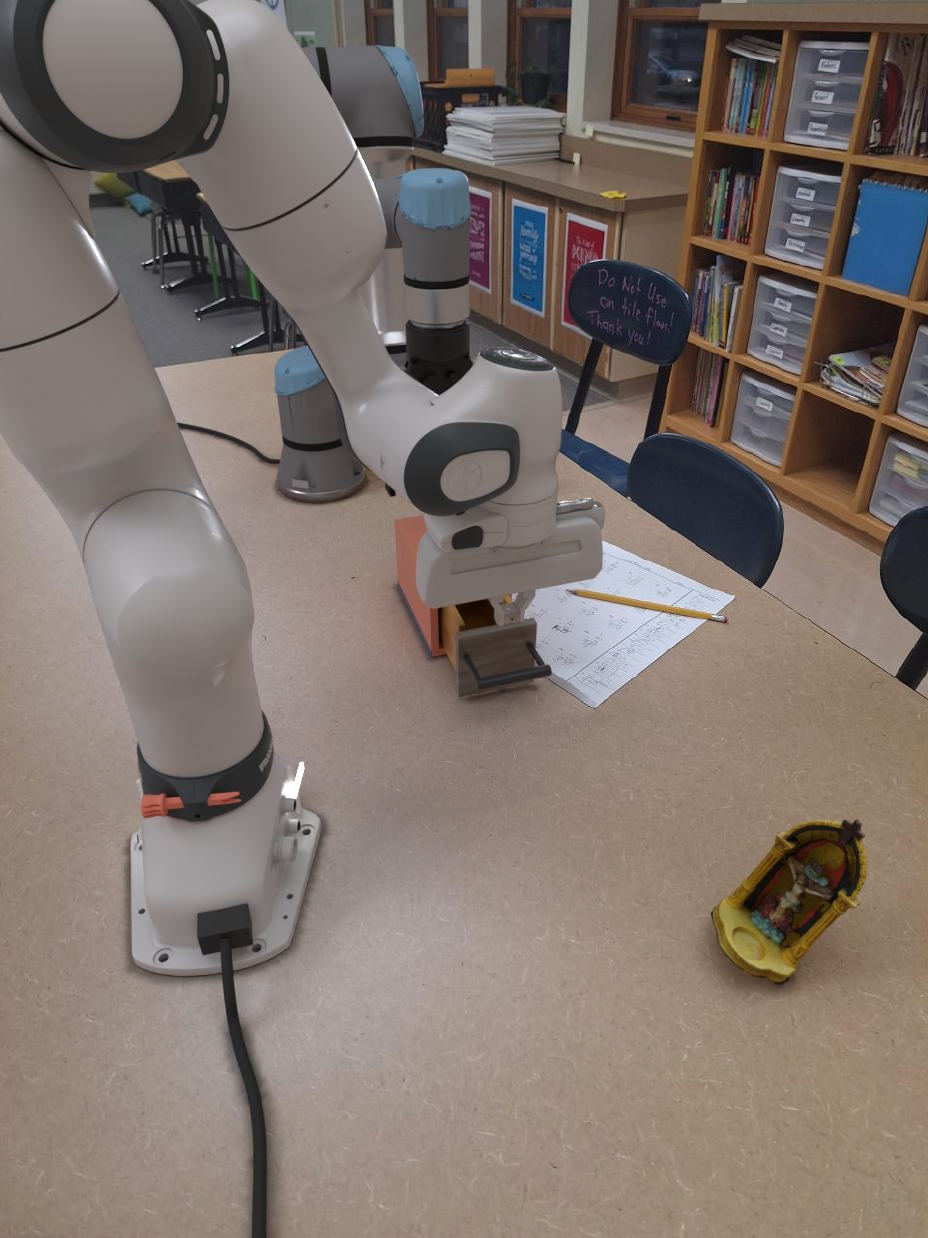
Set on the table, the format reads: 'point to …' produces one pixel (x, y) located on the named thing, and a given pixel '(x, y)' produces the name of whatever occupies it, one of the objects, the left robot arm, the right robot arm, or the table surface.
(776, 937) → the shrine
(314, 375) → the right robot arm
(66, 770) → the table surface
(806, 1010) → the table surface
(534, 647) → the drawer
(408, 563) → the cabinet
